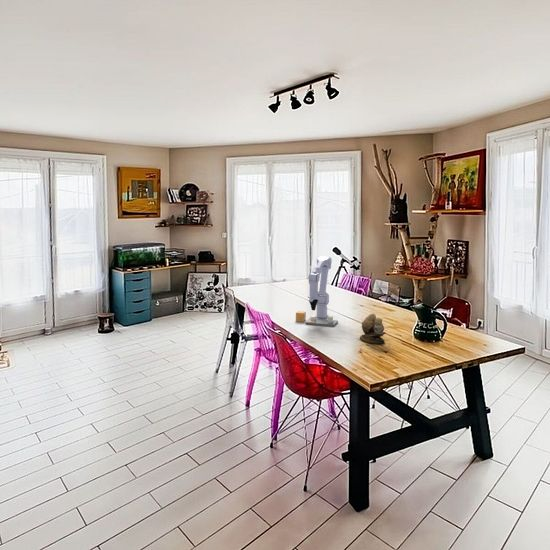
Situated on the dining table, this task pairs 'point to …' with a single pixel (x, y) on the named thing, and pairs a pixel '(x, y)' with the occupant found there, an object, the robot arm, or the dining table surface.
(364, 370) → the dining table surface
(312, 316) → the white rectangular block
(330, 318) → the untagged breaker
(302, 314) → the orange cube
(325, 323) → the panel
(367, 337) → the stacked stone sculpture
